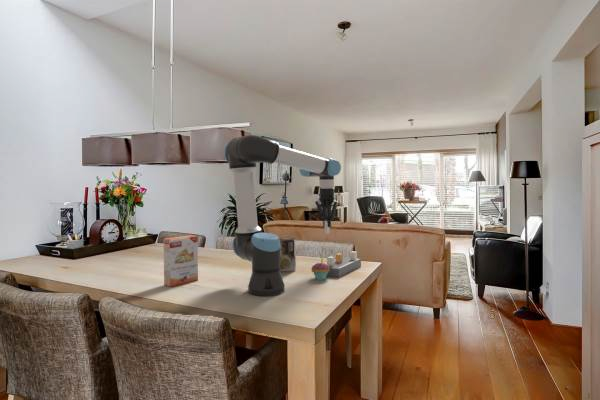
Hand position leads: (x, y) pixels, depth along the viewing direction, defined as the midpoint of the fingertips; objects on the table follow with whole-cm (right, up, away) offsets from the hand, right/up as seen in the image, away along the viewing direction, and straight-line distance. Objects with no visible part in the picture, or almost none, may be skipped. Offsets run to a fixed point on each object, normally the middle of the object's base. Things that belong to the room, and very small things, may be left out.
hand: (327, 233), depth 182 cm
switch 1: (+1, -15, -11) cm, 18 cm away
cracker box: (-68, -20, -24) cm, 75 cm away
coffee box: (-21, -19, -2) cm, 28 cm away
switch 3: (+14, -14, +2) cm, 20 cm away
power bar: (+8, -19, -4) cm, 20 cm away
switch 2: (+6, -14, -3) cm, 16 cm away
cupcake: (-4, -20, -19) cm, 28 cm away
